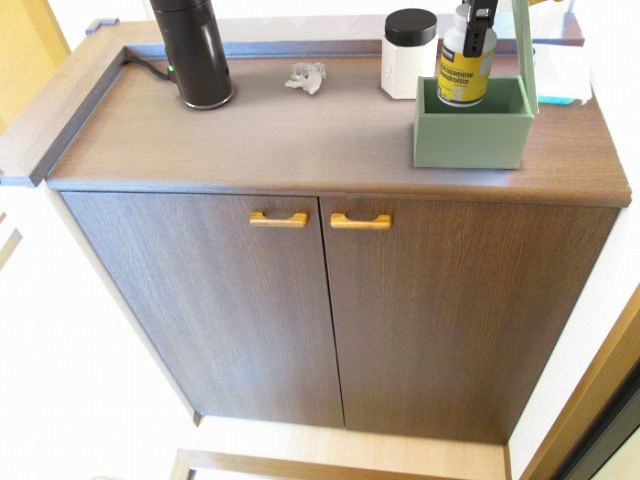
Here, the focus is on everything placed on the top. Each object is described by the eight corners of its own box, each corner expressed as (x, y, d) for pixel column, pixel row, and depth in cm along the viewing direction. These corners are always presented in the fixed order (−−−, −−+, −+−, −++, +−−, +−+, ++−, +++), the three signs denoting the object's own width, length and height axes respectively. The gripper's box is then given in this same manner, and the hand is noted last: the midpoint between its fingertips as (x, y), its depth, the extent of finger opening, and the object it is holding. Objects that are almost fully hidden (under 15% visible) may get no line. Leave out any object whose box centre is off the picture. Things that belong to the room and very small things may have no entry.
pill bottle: (427, 91, 65) (436, 7, 56) (465, 78, 67) (480, -6, 58) (454, 114, 61) (468, 28, 52) (494, 100, 63) (515, 13, 54)
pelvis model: (291, 54, 85) (326, 51, 84) (296, 75, 89) (330, 73, 87) (282, 77, 80) (319, 74, 79) (287, 98, 83) (323, 96, 82)
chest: (414, 167, 68) (418, 116, 62) (413, 125, 75) (417, 76, 68) (517, 169, 66) (534, 117, 59) (508, 126, 72) (522, 75, 66)
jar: (373, 82, 84) (374, 15, 75) (412, 69, 86) (417, 2, 76) (399, 106, 78) (403, 37, 69) (440, 92, 80) (449, 23, 71)
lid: (519, -3, 49) (574, -21, 47) (506, -39, 55) (554, -57, 53) (531, 115, 59) (577, 103, 57) (519, 73, 66) (560, 61, 64)
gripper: (551, -104, 40) (507, 72, 53) (525, -143, 49) (493, 15, 62) (462, -98, 41) (440, 72, 54) (453, -138, 51) (436, 16, 63)
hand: (469, 41), depth 58 cm, fingers closed on pill bottle, 6 cm apart
